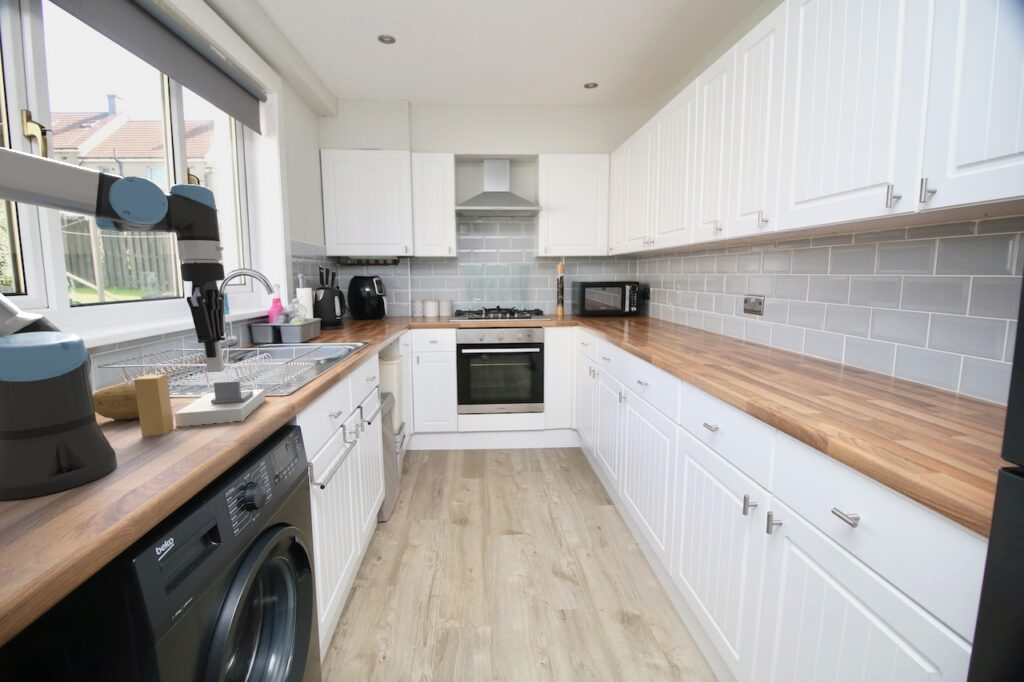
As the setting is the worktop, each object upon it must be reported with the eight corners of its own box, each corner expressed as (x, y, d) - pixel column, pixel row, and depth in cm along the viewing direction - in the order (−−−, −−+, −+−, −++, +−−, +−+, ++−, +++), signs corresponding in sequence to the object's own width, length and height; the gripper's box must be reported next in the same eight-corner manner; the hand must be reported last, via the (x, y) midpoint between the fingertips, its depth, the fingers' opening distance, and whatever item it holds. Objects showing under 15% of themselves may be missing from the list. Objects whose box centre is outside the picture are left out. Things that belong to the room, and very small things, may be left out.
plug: (164, 434, 93) (157, 378, 91) (142, 436, 92) (134, 379, 90) (173, 428, 97) (166, 374, 95) (152, 430, 96) (145, 375, 94)
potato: (99, 418, 105) (94, 384, 104) (173, 408, 112) (169, 377, 111) (86, 430, 97) (80, 394, 96) (167, 418, 104) (162, 385, 102)
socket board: (242, 421, 101) (240, 408, 100) (176, 426, 98) (174, 413, 97) (265, 400, 118) (264, 389, 118) (210, 404, 115) (208, 392, 115)
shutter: (243, 401, 105) (241, 381, 105) (211, 403, 104) (208, 383, 103) (253, 394, 112) (251, 375, 111) (222, 396, 110) (220, 377, 110)
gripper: (209, 261, 89) (223, 376, 93) (232, 262, 102) (244, 364, 105) (165, 261, 88) (182, 379, 91) (195, 263, 100) (208, 366, 104)
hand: (215, 371), depth 98 cm, fingers closed
